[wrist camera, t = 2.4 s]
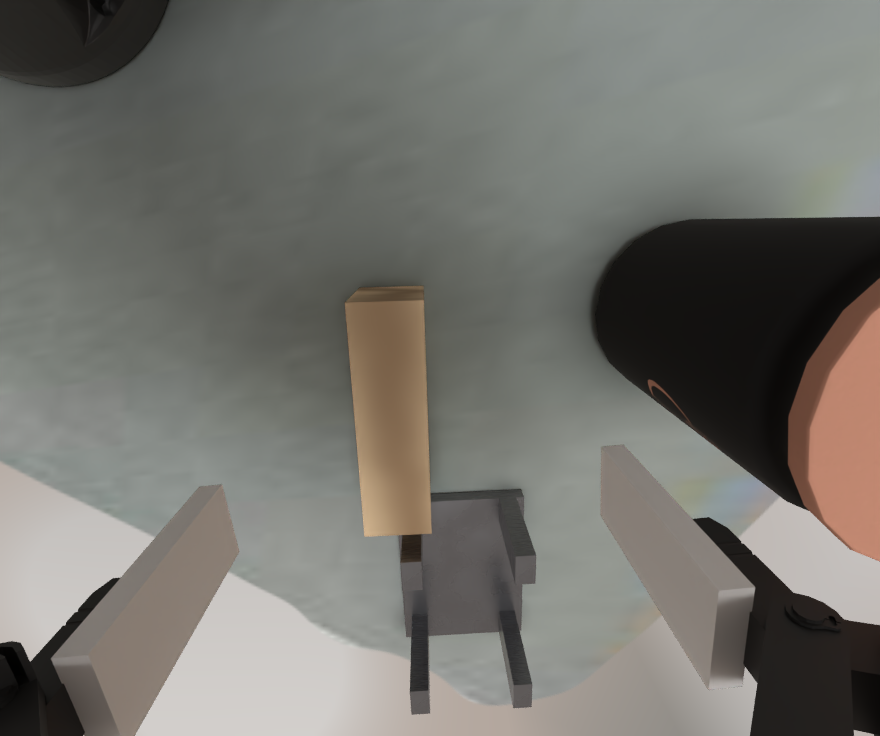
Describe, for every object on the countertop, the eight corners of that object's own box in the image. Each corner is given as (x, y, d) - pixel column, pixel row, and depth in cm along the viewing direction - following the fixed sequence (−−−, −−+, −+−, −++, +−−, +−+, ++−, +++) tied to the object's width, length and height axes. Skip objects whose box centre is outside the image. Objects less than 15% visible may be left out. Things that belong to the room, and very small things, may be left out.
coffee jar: (566, 363, 31) (742, 537, 14) (624, 199, 28) (942, 160, 11) (710, 399, 32) (1039, 601, 15) (781, 245, 29) (1295, 276, 12)
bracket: (406, 626, 37) (403, 715, 30) (397, 495, 33) (390, 563, 27) (518, 619, 37) (539, 706, 31) (521, 489, 34) (545, 554, 27)
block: (374, 482, 33) (364, 536, 28) (359, 287, 29) (344, 302, 23) (430, 480, 33) (431, 533, 28) (423, 285, 29) (423, 300, 24)
